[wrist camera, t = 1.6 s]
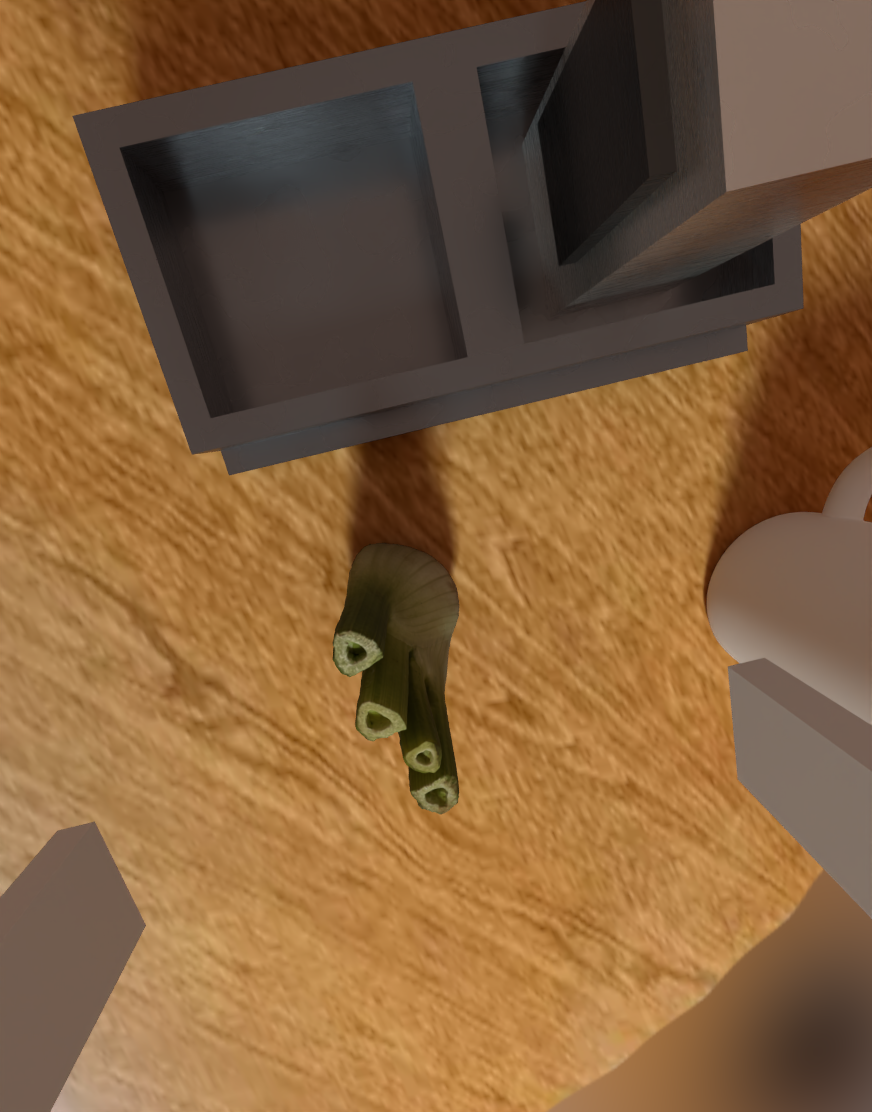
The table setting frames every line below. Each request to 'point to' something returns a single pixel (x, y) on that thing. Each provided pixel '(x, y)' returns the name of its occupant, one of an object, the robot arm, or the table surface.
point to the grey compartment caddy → (480, 213)
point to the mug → (805, 593)
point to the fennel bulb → (403, 661)
